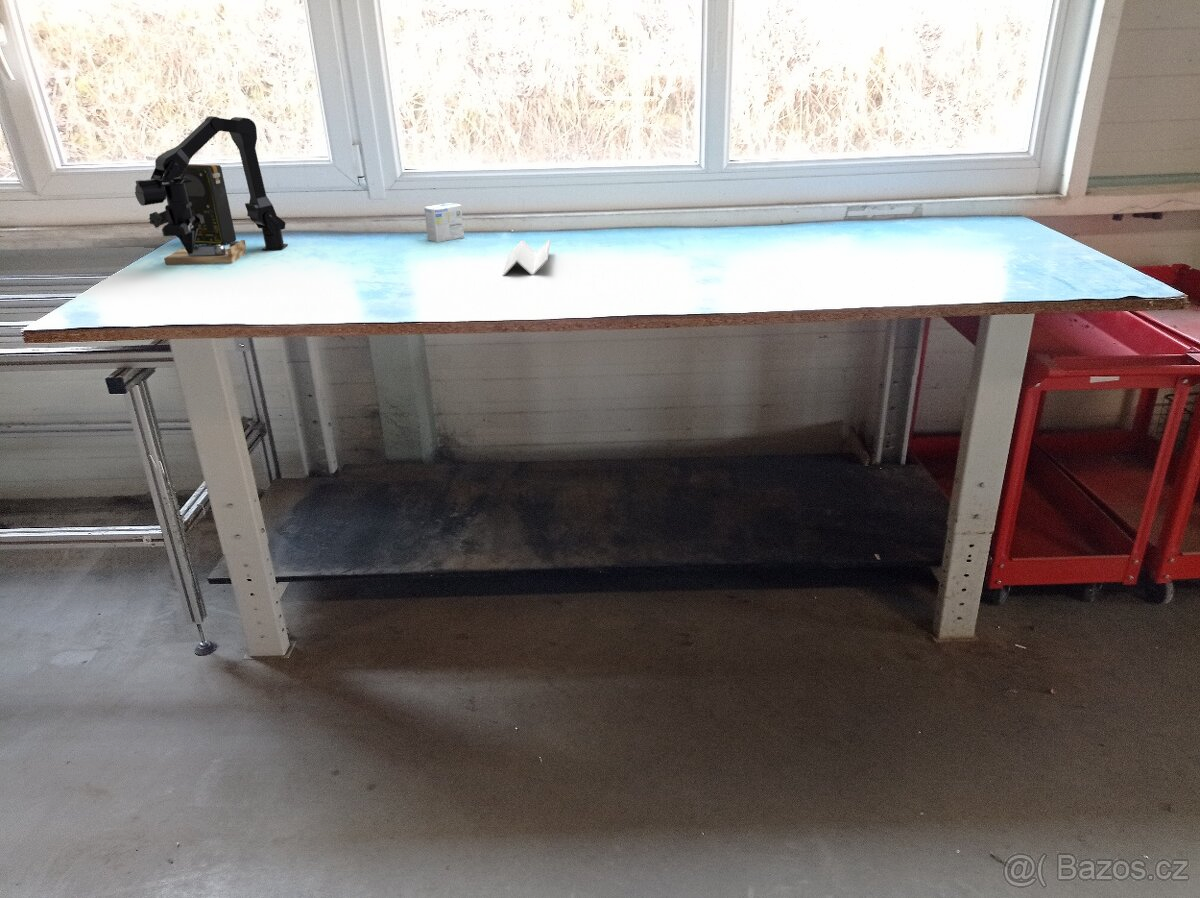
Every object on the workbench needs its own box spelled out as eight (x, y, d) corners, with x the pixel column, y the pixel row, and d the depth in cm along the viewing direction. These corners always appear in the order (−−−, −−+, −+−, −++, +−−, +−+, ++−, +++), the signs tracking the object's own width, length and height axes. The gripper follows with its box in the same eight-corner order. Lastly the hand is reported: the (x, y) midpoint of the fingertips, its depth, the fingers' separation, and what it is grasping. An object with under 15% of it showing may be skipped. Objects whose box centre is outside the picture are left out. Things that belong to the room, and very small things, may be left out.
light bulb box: (454, 234, 288) (451, 201, 283) (465, 237, 283) (462, 204, 278) (426, 239, 282) (423, 206, 277) (436, 242, 277) (433, 209, 272)
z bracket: (518, 290, 241) (502, 275, 239) (523, 268, 263) (508, 254, 261) (547, 260, 237) (530, 244, 235) (550, 239, 259) (535, 225, 257)
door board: (182, 255, 268) (179, 241, 266) (247, 253, 269) (245, 239, 267) (165, 264, 257) (162, 250, 255) (233, 263, 258) (230, 249, 256)
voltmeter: (183, 244, 282) (165, 166, 271) (201, 239, 289) (184, 162, 278) (223, 247, 278) (206, 167, 266) (240, 241, 285) (224, 163, 274)
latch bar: (227, 252, 260) (225, 243, 259) (223, 255, 257) (221, 245, 256) (192, 253, 260) (189, 244, 259) (187, 256, 257) (185, 246, 256)
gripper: (160, 195, 256) (173, 247, 263) (136, 207, 239) (151, 262, 246) (198, 194, 257) (210, 245, 264) (177, 205, 240) (191, 260, 247)
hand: (190, 253), depth 255 cm, fingers closed
